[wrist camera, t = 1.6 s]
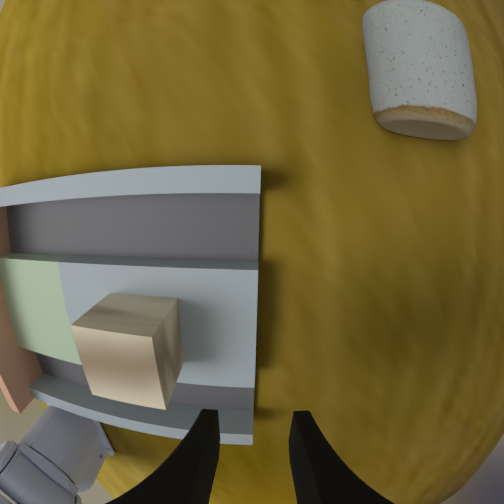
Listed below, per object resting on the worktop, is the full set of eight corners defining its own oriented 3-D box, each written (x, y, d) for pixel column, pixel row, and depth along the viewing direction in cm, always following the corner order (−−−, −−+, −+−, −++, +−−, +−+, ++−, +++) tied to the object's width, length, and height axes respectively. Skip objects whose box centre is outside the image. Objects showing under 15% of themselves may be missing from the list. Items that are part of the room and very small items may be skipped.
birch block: (184, 362, 19) (165, 409, 14) (121, 354, 19) (92, 394, 14) (177, 298, 17) (151, 337, 12) (109, 292, 17) (70, 325, 13)
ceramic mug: (355, 132, 17) (412, 107, 10) (346, 34, 15) (385, -20, 8) (465, 153, 17) (532, 151, 10) (454, 67, 15) (510, 42, 8)
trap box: (253, 417, 23) (252, 472, 16) (40, 377, 23) (11, 409, 17) (260, 169, 18) (261, 160, 12) (1, 190, 18) (-47, 197, 12)
